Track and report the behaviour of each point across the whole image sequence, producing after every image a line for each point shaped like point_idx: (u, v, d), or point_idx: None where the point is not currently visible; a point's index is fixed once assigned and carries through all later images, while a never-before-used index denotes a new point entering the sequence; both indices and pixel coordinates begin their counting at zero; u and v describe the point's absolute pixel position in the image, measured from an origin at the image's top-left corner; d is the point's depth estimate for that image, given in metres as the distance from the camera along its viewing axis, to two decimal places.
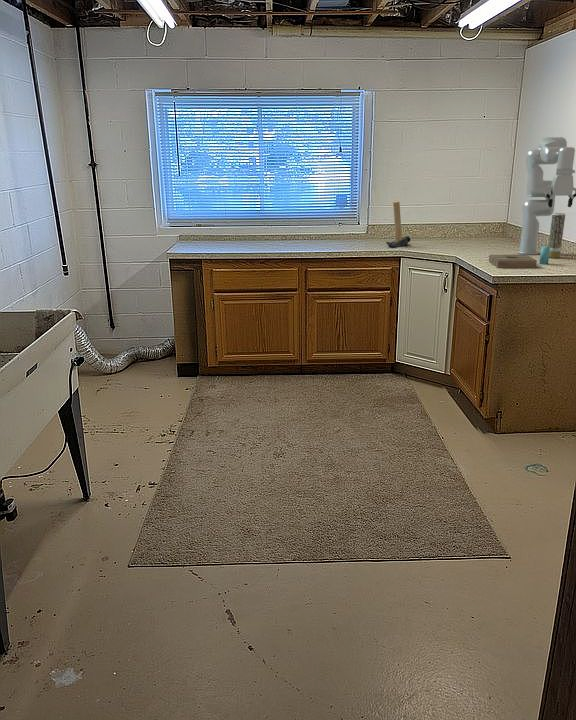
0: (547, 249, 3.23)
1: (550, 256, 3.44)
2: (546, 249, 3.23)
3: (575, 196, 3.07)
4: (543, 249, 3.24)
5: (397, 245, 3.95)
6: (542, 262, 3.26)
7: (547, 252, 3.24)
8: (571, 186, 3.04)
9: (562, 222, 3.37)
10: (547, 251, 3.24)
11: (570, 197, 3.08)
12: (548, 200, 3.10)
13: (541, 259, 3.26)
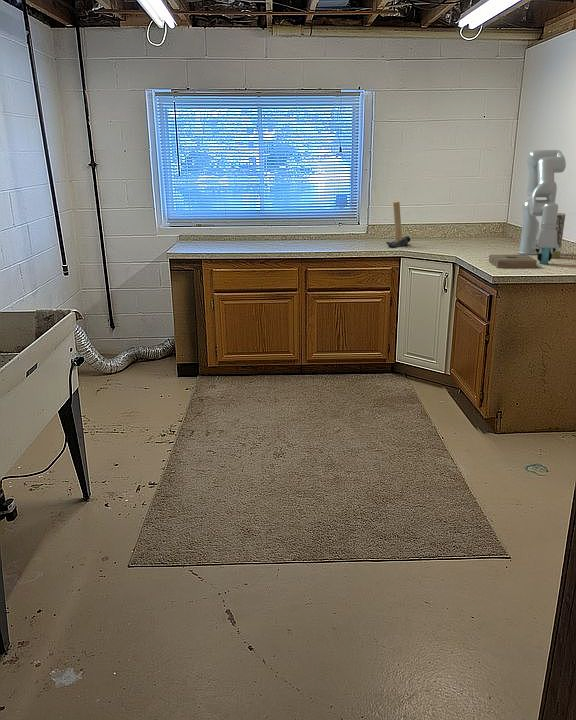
0: (547, 249, 3.23)
1: None
2: (546, 249, 3.23)
3: None
4: (543, 249, 3.24)
5: (397, 245, 3.95)
6: (542, 262, 3.26)
7: (547, 252, 3.24)
8: (555, 240, 3.21)
9: (562, 222, 3.37)
10: (547, 251, 3.24)
11: (550, 251, 3.26)
12: None
13: (541, 259, 3.26)
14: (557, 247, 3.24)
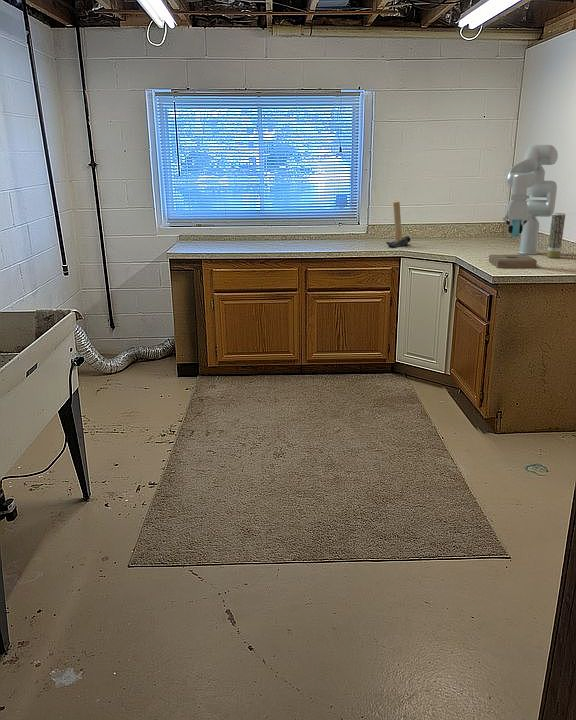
0: (518, 221, 3.17)
1: (550, 256, 3.44)
2: (517, 221, 3.17)
3: (525, 223, 3.18)
4: (514, 221, 3.18)
5: (397, 245, 3.95)
6: (513, 234, 3.20)
7: (518, 224, 3.18)
8: (525, 211, 3.15)
9: (562, 222, 3.37)
10: (518, 223, 3.17)
11: (521, 223, 3.19)
12: None
13: (512, 231, 3.20)
14: (528, 219, 3.18)
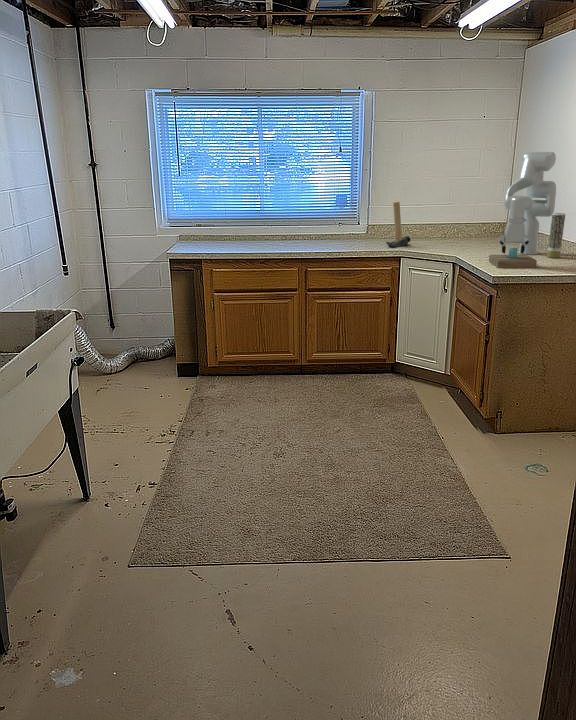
0: (515, 250, 3.22)
1: (550, 256, 3.44)
2: (514, 250, 3.22)
3: (527, 243, 3.22)
4: (511, 250, 3.23)
5: (397, 245, 3.95)
6: None
7: (515, 253, 3.23)
8: (523, 234, 3.19)
9: (562, 222, 3.37)
10: (515, 252, 3.22)
11: (522, 244, 3.23)
12: (502, 246, 3.25)
13: None
14: (529, 238, 3.21)
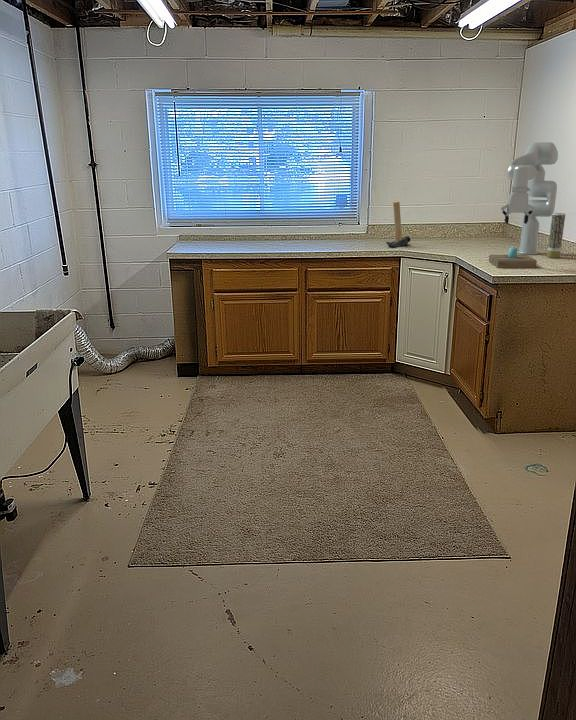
0: (515, 250, 3.22)
1: (550, 256, 3.44)
2: (514, 250, 3.22)
3: (530, 213, 3.16)
4: (511, 250, 3.23)
5: (397, 245, 3.95)
6: None
7: (515, 253, 3.23)
8: (526, 203, 3.14)
9: (562, 222, 3.37)
10: (515, 252, 3.22)
11: (526, 214, 3.18)
12: (505, 217, 3.20)
13: None
14: (532, 208, 3.16)
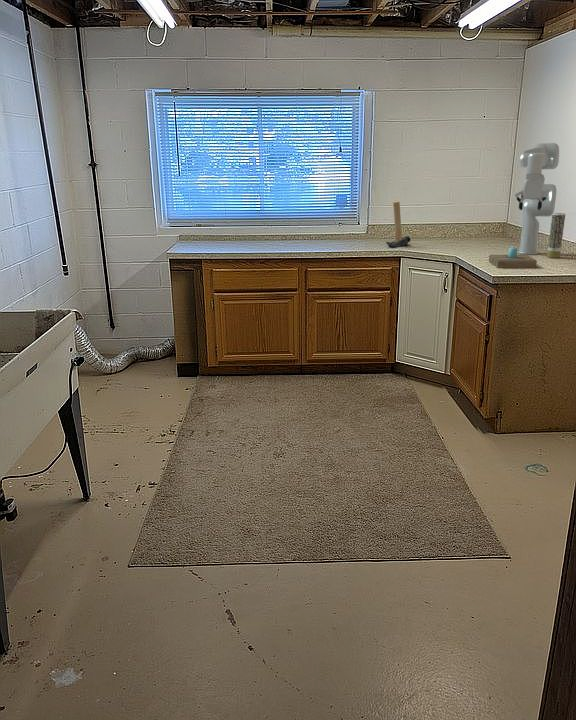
0: (515, 250, 3.22)
1: (550, 256, 3.44)
2: (514, 250, 3.22)
3: (544, 199, 3.25)
4: (511, 250, 3.23)
5: (397, 245, 3.95)
6: None
7: (515, 253, 3.23)
8: (540, 190, 3.22)
9: (562, 222, 3.37)
10: (515, 252, 3.22)
11: (539, 200, 3.26)
12: (519, 203, 3.28)
13: None
14: (546, 195, 3.24)
